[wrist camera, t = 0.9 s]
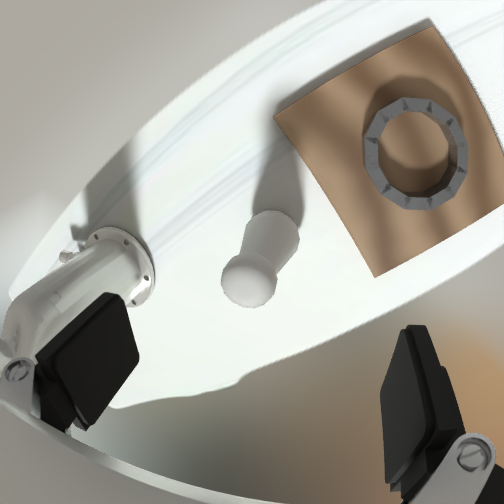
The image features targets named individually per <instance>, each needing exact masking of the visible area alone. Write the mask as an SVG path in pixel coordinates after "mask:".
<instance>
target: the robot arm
mask: <svg viewBox="0 0 504 504" xmlns="http://www.w3.org/2000/svg"><path fill="white" fill-rule="evenodd" d="M59 260H60V261H61V262H62V263H65V264H63V265H62V266H60V267H59V268H57V269H56V270H54V271H53V272H51V273H50V274H48V275H47V276H45V277H44V278H43V279H41V280H40V281H38V282H37V283H35V284H34V285H32V286H31V287H30V288H28V289H27V290H25V291H24V292H22V293H21V294H20V295H19V296H17V297H16V298H15V299H14V301H13V302H12V303H11V305H10V307H9V309H8V311H7V314H6V316H5V320H4V324H3V330H2V335H1V338H0V504H282V503H274V502H267V501H261V500H255V499H249V498H244V497H238V496H233V495H228V494H224V493H220V492H215V491H211V490H207V489H204V488H200V487H196V486H192V485H188V484H185V483H182V482H179V481H175V480H172V479H169V478H166V477H163V476H160V475H157V474H154V473H151V472H149V471H146V470H143V469H140V468H138V467H135V466H133V465H130V464H128V463H125V462H123V461H121V460H118V459H116V458H114V457H111V456H109V455H107V454H105V453H102V452H100V451H98V450H96V449H94V448H92V447H90V446H88V445H86V444H84V443H82V442H80V441H78V440H76V439H74V438H72V437H71V428H70V425H71V424H72V422H73V423H74V425H75V426H76V427H78V428H80V429H83V430H84V431H87V429H88V428H89V426H90V425H93V424H95V422H96V421H97V419H98V418H99V417H100V415H101V414H102V413H103V411H104V410H105V408H106V407H107V406H108V404H109V403H110V401H111V400H112V399H113V397H114V396H115V394H116V393H117V392H118V390H119V389H120V388H121V386H122V385H123V383H124V382H125V381H126V379H127V378H128V376H129V375H130V374H131V372H132V371H133V370H134V368H135V367H136V366H137V364H138V362H139V352H138V349H137V346H136V342H135V339H134V335H133V332H132V328H131V324H130V321H129V317H128V313H127V309H126V307H137V306H140V305H141V304H143V303H144V302H145V301H146V300H147V299H148V298H149V297H150V295H151V294H152V291H153V289H154V282H155V281H154V271H153V266H152V264H151V261H150V259H149V257H148V255H147V253H146V251H145V250H144V248H143V247H142V246H141V244H140V243H139V242H138V241H137V240H136V239H135V238H134V237H133V236H131V235H130V234H129V233H127V232H125V231H123V230H121V229H119V228H115V227H103V228H100V229H98V230H97V231H95V232H94V233H92V234H91V235H90V236H89V238H88V239H87V241H86V244H85V248H84V250H83V251H81V252H75V253H73V252H69V251H65V250H63V251H61V253H60V255H59ZM380 402H381V413H382V426H383V441H384V462H385V482H386V483H387V484H388V483H390V491H391V492H394V491H401V498H402V499H403V501H402V502H401V503H400V504H504V469H503V468H502V467H500V466H498V465H497V464H495V461H496V450H495V447H494V445H493V444H492V442H491V441H490V440H489V439H488V438H487V437H485V436H484V435H481V434H478V433H468V434H466V432H465V428H464V425H463V421H462V417H461V414H460V410H459V407H458V404H457V400H456V397H455V394H454V391H453V388H452V385H451V382H450V379H449V376H448V373H447V370H446V368H445V367H443V366H441V365H440V363H439V360H438V357H437V354H436V352H435V348H434V346H433V343H432V340H431V338H430V335H429V333H428V330H427V328H426V326H425V325H408V326H407V327H406V329H402V330H401V331H400V334H399V337H398V341H397V344H396V347H395V350H394V353H393V356H392V359H391V362H390V365H389V368H388V371H387V374H386V376H385V380H384V382H383V385H382V388H381V392H380Z"/></svg>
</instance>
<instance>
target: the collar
mask: <svg viewBox="0 0 504 504" xmlns="http://www.w3.org/2000/svg"><path fill="white" fill-rule="evenodd" d="M403 112H418V113H422V114H424V115H425V116H427V117H428V118H430V119H431V120H432V121H434V122H435V123H437V124H438V125H439V127H440V129H441V130H442V132H443V134H444V136H445V138H446V140H447V142H448V166H447V168H446V170H445V172H444V174H443V176H442V177H441V179H440V181H439V182H438V183H437V184H435V185H433V186H432V187H430V188H428V189H426V190H425V191H423V192H407V191H401V190H400V189H398V188H397V187H395V186H393V185H392V184H390V183H389V182H388V181H387V179H386V177H385V176H384V174H383V172H382V170H381V169H380V167H379V165H378V140H379V138H380V136H381V134H382V132H383V130H384V128H385V126H386V124H387V122H388V121H390V120H391V119H393V118H395V117H396V116H398V115H400V114H402V113H403ZM362 156H363V166H364V168H365V169H366V171H367V173H368V174H369V176H370V178H371V180H372V181H373V183H374V185H375V187H376V188H377V190H378V191H379V193H380V194H381V195H382V196H384V197H385V198H387V199H389V200H390V201H392V202H394V203H395V204H397V205H398V206H400V207H401V208H403V209H405V210H433V209H435V208H436V207H438V206H440V205H442V204H443V203H445V202H447V201H448V200H450V199H452V198H453V197H455V195H456V193H457V191H458V190H459V188H460V186H461V184H462V182H463V181H464V179H465V177H466V175H467V173H468V143H467V140H466V138H465V136H464V134H463V132H462V130H461V128H460V126H459V124H458V122H457V120H456V118H455V117H454V116H453V115H452V114H450V113H449V112H448V111H446V110H445V109H444V108H442V107H441V106H439V105H438V104H437V103H435V102H434V101H432V100H430V99H419V98H405V97H402V98H399V99H396V100H395V101H393V102H391V103H389V104H388V105H386V106H384V107H382V108H381V109H379V110H377V111H376V112H374V113H373V115H372V117H371V119H370V121H369V123H368V125H367V127H366V129H365V131H364V133H363V135H362Z"/></svg>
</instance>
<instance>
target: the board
mask: <svg viewBox="0 0 504 504" xmlns="http://www.w3.org/2000/svg"><path fill="white" fill-rule="evenodd" d="M402 97H405V98H419V99H430V100H432V101H434V102H435V103H437V104H438V105H439V106H441V107H442V108H444V109H445V110H446V111H448V112H449V113H450V114H452V115H453V116H454V117H455V118H456V120H457V122H458V124H459V126H460V128H461V130H462V132H463V134H464V136H465V138H466V140H467V143H468V173H467V175H466V177H465V179H464V181H463V182H462V184H461V186H460V188H459V190H458V191H457V193H456V195H455V197H453V198H452V199H450V200H448V201H447V202H445V203H443V204H442V205H440V206H438V207H436V208H435V209H433V210H405V209H403V208H401V207H400V206H398V205H397V204H395V203H394V202H392V201H390V200H389V199H387V198H385V197H384V196H382V195H381V194H380V193H379V191H378V190H377V188H376V187H375V185H374V183H373V181H372V180H371V178H370V176H369V174H368V173H367V171H366V169H365V168H364V166H363V156H362V135H363V133H364V131H365V129H366V127H367V125H368V123H369V121H370V119H371V117H372V115H373V113H374V112H376V111H377V110H379V109H381V108H382V107H384V106H386V105H388V104H389V103H391V102H393V101H395V100H396V99H399V98H402ZM273 118H274V119H275V121H276V122H277V124H278V125H279V126H280V128H281V129H282V130H283V132H284V133H285V135H286V136H287V138H288V139H289V140H290V142H291V143H292V145H293V146H294V148H295V149H296V150H297V152H298V153H299V155H300V156H301V158H302V159H303V161H304V162H305V164H306V165H307V167H308V168H309V170H310V171H311V173H312V174H313V176H314V177H315V179H316V180H317V182H318V183H319V185H320V187H321V188H322V190H323V191H324V193H325V194H326V196H327V198H328V199H329V201H330V202H331V204H332V206H333V207H334V209H335V210H336V212H337V214H338V215H339V217H340V219H341V220H342V222H343V224H344V225H345V227H346V229H347V230H348V232H349V234H350V235H351V237H352V239H353V240H354V242H355V244H356V246H357V247H358V249H359V251H360V253H361V254H362V256H363V258H364V260H365V262H366V263H367V265H368V267H369V269H370V271H371V272H372V274H373V276H374V278H376V277H378V276H380V275H382V274H384V273H386V272H387V271H389V270H391V269H393V268H395V267H397V266H399V265H401V264H403V263H404V262H406V261H408V260H410V259H412V258H414V257H415V256H417V255H419V254H421V253H423V252H424V251H426V250H428V249H430V248H432V247H433V246H435V245H437V244H439V243H440V242H442V241H444V240H445V239H447V238H449V237H451V236H452V235H454V234H456V233H457V232H459V231H461V230H462V229H464V228H466V227H467V226H469V225H471V224H472V223H474V222H476V221H477V220H479V219H480V218H482V217H484V216H485V215H487V214H488V213H490V212H492V211H493V210H495V209H496V208H498V207H499V206H501V205H502V204H504V155H503V153H502V150H501V148H500V145H499V143H498V140H497V138H496V136H495V133H494V131H493V129H492V126H491V124H490V122H489V120H488V118H487V116H486V114H485V111H484V109H483V107H482V105H481V103H480V101H479V100H478V98H477V96H476V94H475V92H474V90H473V88H472V86H471V85H470V83H469V81H468V79H467V78H466V76H465V74H464V72H463V71H462V69H461V67H460V66H459V64H458V62H457V61H456V59H455V58H454V56H453V55H452V53H451V52H450V50H449V48H448V47H447V45H446V44H445V43H444V41H443V40H442V38H441V37H440V35H439V34H438V33H437V31H436V30H435V28H434V27H433V26H431V27H429V28H427V29H425V30H422V31H420V32H418V33H416V34H414V35H412V36H410V37H408V38H406V39H404V40H402V41H400V42H398V43H396V44H394V45H392V46H390V47H388V48H386V49H384V50H383V51H381V52H379V53H377V54H375V55H373V56H371V57H370V58H368V59H366V60H364V61H362V62H361V63H359V64H357V65H355V66H354V67H352V68H350V69H348V70H347V71H345V72H343V73H342V74H340V75H338V76H336V77H335V78H333V79H331V80H330V81H328V82H326V83H325V84H323V85H322V86H320V87H318V88H317V89H315V90H314V91H312V92H310V93H309V94H307V95H306V96H304V97H303V98H301V99H299V100H298V101H296V102H295V103H293V104H292V105H290V106H289V107H287V108H286V109H284V110H283V111H281V112H280V113H278V114H277V115H275V116H274V117H273ZM378 165H379V167H380V169H381V170H382V172H383V174H384V176H385V177H386V179H387V181H388V182H389V183H390V184H392V185H393V186H395V187H397V188H398V189H400V190H401V191H407V192H423V191H425V190H426V189H428V188H430V187H432V186H433V185H435V184H437V183H438V182H439V181H440V179H441V177H442V176H443V174H444V172H445V170H446V168H447V166H448V142H447V140H446V138H445V136H444V134H443V132H442V130H441V129H440V127H439V125H438V124H437V123H435V122H434V121H432V120H431V119H430V118H428V117H427V116H425V115H424V114H422V113H418V112H403V113H402V114H400V115H398V116H396V117H395V118H393V119H391V120H390V121H388V122H387V124H386V126H385V128H384V130H383V132H382V134H381V136H380V138H379V140H378Z"/></svg>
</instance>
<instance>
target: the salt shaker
mask: <svg viewBox="0 0 504 504" xmlns="http://www.w3.org/2000/svg"><path fill="white" fill-rule="evenodd" d="M299 240H300V238H299V233H298V229H297V225H296V224H295V223H294V222H293V221H292V219H291V218H290V217H289V216H287V215H285V214H283V213H282V212H280V211H263V212H261V213H259V214H256V215H254V216H253V217H252V218H251V220H250V221H249V222H248V224H247V225H246V228H245V233H244V237H243V242H242V246H241V250H240V253H239V255H237V256H234V257H233V258H232V259H231V260H230V261H229V262H228V264H227V265H226V266H225V268H224V269H223V272H222V278H221V286H222V288H223V291H224V294H225V295H226V296H227V297H228V298H229V299H230V300H231V301H232V302H233V303H235V304H237V305H239V306H241V307H247V308H256V307H259V306H262V305H264V304H265V303H266V302H267V301H268V300H269V299H270V298H271V297H272V296H273V295H274V292H275V288H276V284H277V273H278V272H279V271H280V270H281V269H282V268H283V266H284V265H285V264H286V263H287V262H288V260H289V259H290V258H291V257H292V256H293V255H294V253H295V252H296V251H297V248H298V244H299Z"/></svg>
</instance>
